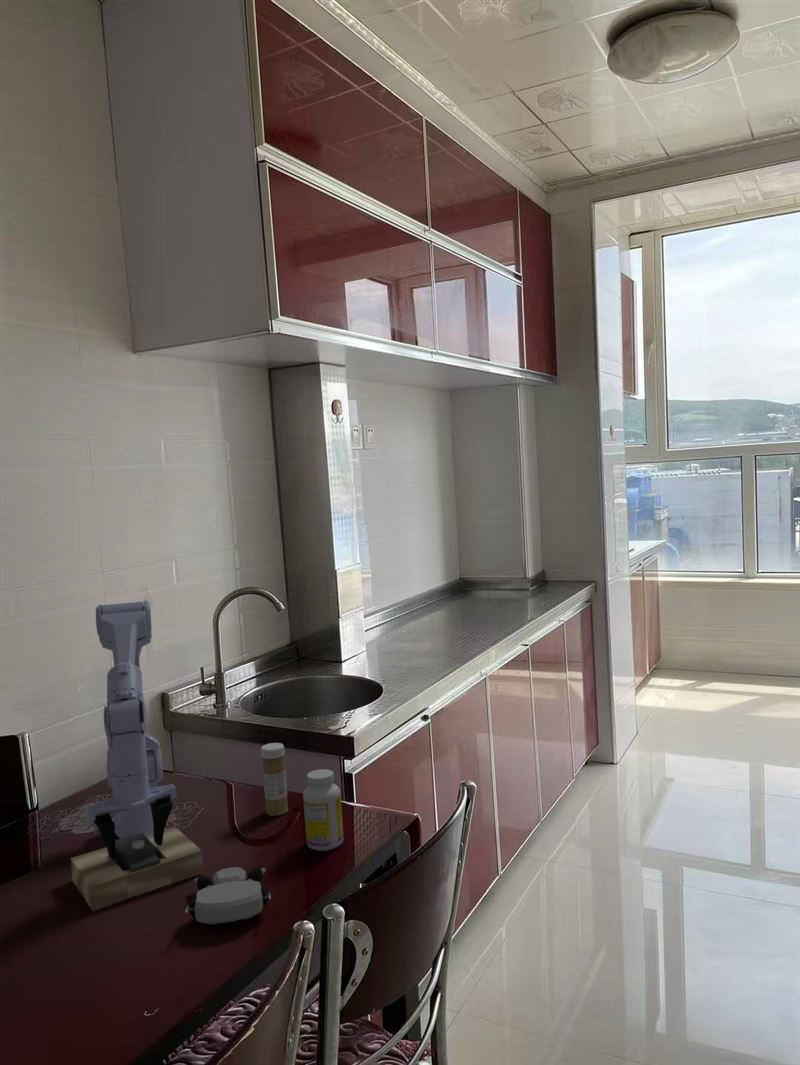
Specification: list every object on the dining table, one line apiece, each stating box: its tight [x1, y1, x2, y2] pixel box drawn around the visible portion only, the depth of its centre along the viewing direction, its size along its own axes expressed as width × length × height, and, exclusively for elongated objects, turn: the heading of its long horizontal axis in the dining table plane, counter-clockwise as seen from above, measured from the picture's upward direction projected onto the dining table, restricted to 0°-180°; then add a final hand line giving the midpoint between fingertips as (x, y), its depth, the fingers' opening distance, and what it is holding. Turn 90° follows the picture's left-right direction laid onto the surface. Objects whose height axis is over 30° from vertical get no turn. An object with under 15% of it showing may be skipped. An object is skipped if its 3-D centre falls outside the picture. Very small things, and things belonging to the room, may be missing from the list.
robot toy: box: [184, 866, 272, 926], centre depth 121 cm, size 12×4×15 cm
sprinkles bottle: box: [260, 742, 289, 817], centre depth 156 cm, size 5×5×14 cm
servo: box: [115, 833, 160, 872], centre depth 132 cm, size 12×4×7 cm, turn 35°
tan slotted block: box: [70, 826, 204, 912], centre depth 132 cm, size 13×18×4 cm
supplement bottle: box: [302, 768, 344, 852], centre depth 141 cm, size 7×7×13 cm
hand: (135, 850), depth 132 cm, fingers open, 7 cm apart
